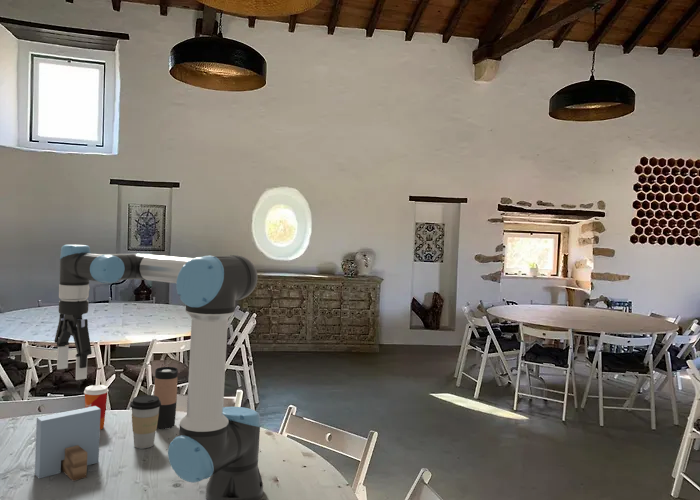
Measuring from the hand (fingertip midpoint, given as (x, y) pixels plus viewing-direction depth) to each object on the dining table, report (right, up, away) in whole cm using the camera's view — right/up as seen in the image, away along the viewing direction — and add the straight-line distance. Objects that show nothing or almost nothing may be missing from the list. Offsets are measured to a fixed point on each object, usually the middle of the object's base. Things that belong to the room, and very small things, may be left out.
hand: (71, 373), depth 156 cm
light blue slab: (-2, -27, +1) cm, 27 cm away
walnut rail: (-2, -27, +1) cm, 27 cm away
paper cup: (-8, -26, +31) cm, 41 cm away
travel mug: (+14, -27, +37) cm, 48 cm away
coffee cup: (+13, -28, +20) cm, 37 cm away
